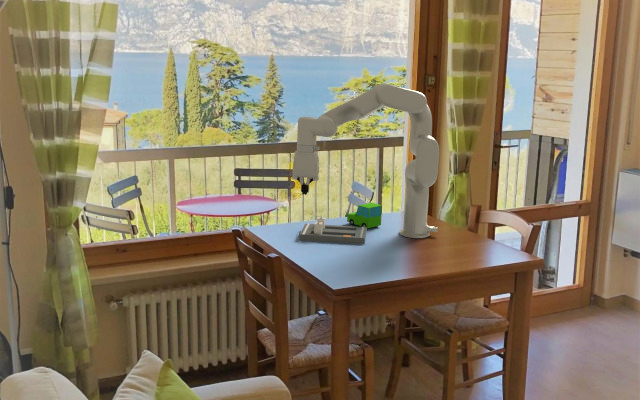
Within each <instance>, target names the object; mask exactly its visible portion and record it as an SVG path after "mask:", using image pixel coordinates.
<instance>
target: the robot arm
mask: <svg viewBox="0 0 640 400" xmlns="http://www.w3.org/2000/svg"><path fill="white" fill-rule="evenodd" d="M384 107H387V108H390V109H393V110H398V111H402V112H406V113H408V115H409V120H410V133H409V135H410V136H409V151H410V153H411V154H412V155H414V157H415V159H412V160H411V161H409V162H408V163H407V165H406V166H405V171H404V172H405V173H404V178H405V179H404V180H405V194H404V195H405V196H404V210H403V212H404V213H403V228H400V229H399V235H401V236H402V237H405V238H409V239H411V238H412V239H425V238H428V237H430V235H431V233H432V232H433V233H438V226H437V227H435V226H434V225H433V226H431V225H428V210H429V197H430V196H429V195H430V194H429V192H430V187H431V186H433V185H434V184H435V183H436V181H437V180H438V173H439V162H440V146H439V143H438V141H437V140H436V139H435V138H434V137H433V136H432V135H433V132H432V131H433V116H432V111H431V109H430V106H429V105H428V100H427V97H426V95H425V94H423V93H422V92H419V91H416V90H413V89H407V88H403V87H400V86H397V85H393V84H390V83H385V82H383V83H380V84H377V85H375V86H374V87H372V88H370V89H369V90H367V91H365V92H363V93H361V94H360V95H358V96H356V97H354V98H352V99H350V100H348V101H346V102H344V103H342V104H340V105H337V106H336V107H334V108H332V109H330V110H328V111H327V112H325V113H323V114H321V115H320V116H318V117H317V118H316V117H313V116H300V117H299V118H298V120H297V130H296V131H297V134H296V135H297V138H296V150H295V151H294V156H293V164H292V175H291V179H293V180H296V181H298V182H299V184H300V192H301V194H302V195H306V196H307V194H308V193H309V191H310V184H311V183H312V182H317V181H319V178H320V177H319V172H320V171H319V170H320V164H319V163H320V160H319V159H320V158H319V152H318V151H320V149H321V146H318V145H317V137H323V138H331V137H333V136H335V135H336V134H337V132H338V127H340V126H342V125H343V124H346V123H348V122H352V121H359V120H361V119H364V118H366V117H368V116H370V115H371V114H372V113H374V112H376V111H378V110H380V109H382V108H384ZM305 178H306V182H305Z"/></svg>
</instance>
